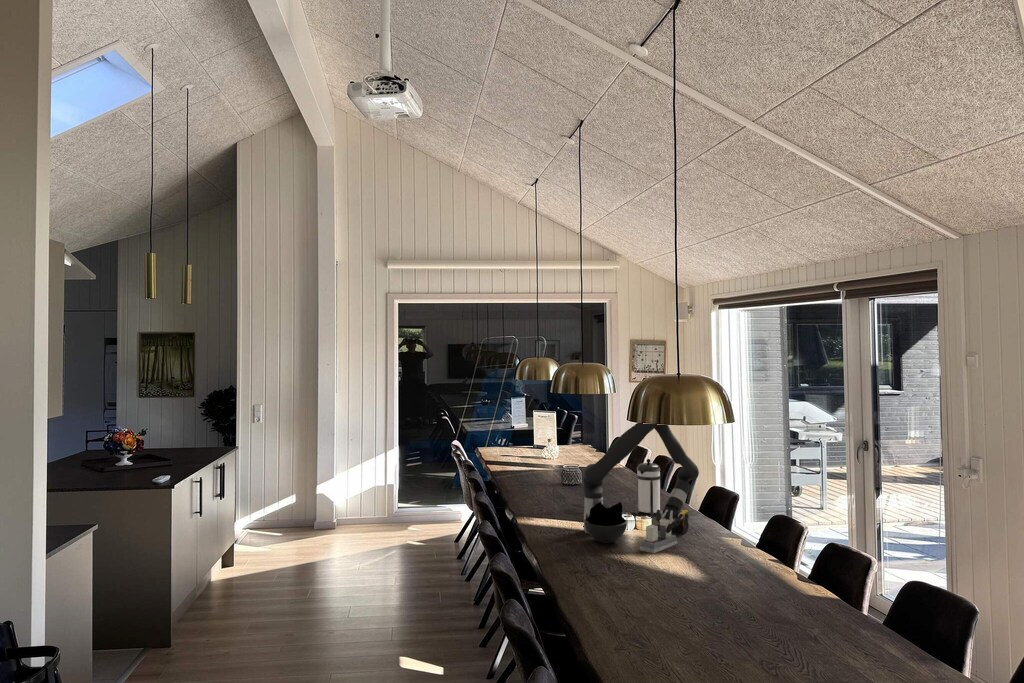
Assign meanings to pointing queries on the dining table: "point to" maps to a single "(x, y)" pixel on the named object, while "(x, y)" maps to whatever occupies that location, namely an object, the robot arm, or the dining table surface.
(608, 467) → the robot arm
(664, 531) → the tall off-white block
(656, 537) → the gray compartment block tray
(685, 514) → the candle
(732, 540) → the dining table surface
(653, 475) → the coffee press
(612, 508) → the coal bowl
